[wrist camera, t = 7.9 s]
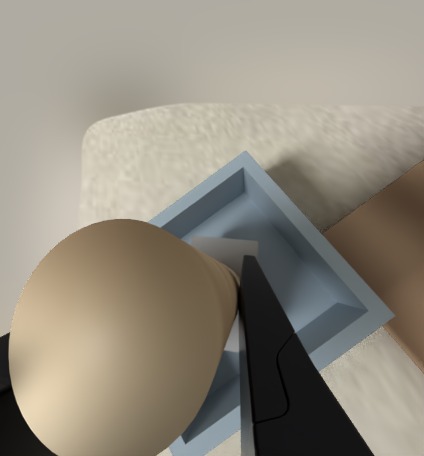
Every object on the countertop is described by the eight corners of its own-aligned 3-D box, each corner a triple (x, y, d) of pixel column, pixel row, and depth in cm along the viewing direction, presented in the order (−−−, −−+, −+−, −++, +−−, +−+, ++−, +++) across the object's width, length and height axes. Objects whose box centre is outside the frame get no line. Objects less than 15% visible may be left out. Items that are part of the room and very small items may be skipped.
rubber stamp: (250, 343, 13) (252, 790, 2) (187, 332, 14) (-112, 587, 2) (257, 246, 14) (287, 115, 3) (199, 240, 15) (40, 119, 4)
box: (201, 414, 15) (180, 472, 10) (123, 271, 18) (83, 269, 14) (352, 304, 15) (395, 315, 10) (246, 181, 18) (245, 150, 13)
